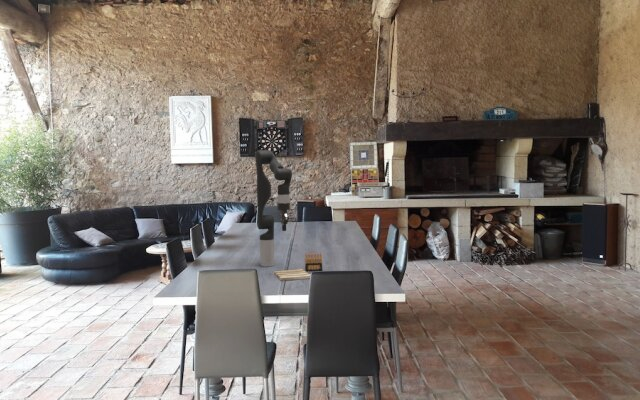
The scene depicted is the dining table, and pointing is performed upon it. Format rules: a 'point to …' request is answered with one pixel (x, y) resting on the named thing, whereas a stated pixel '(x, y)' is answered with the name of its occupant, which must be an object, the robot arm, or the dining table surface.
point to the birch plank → (294, 276)
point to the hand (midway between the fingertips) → (284, 230)
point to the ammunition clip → (312, 265)
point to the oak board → (288, 272)
